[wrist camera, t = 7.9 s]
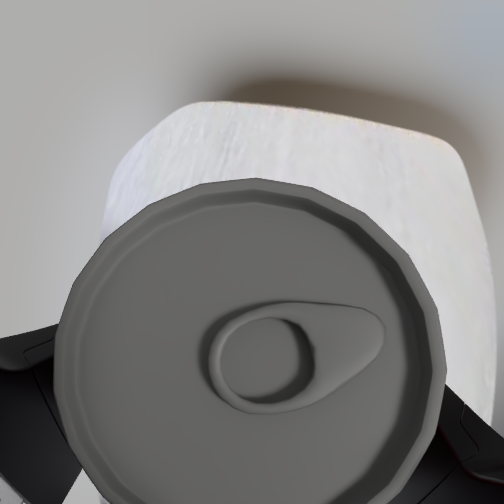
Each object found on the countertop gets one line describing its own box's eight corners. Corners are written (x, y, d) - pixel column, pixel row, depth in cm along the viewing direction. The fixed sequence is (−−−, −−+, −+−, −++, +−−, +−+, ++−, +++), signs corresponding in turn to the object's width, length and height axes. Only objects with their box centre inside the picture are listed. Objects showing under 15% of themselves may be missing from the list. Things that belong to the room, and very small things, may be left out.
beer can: (349, 427, 13) (506, 493, 2) (216, 457, 13) (77, 574, 2) (316, 303, 16) (379, 122, 5) (190, 333, 16) (32, 209, 5)
